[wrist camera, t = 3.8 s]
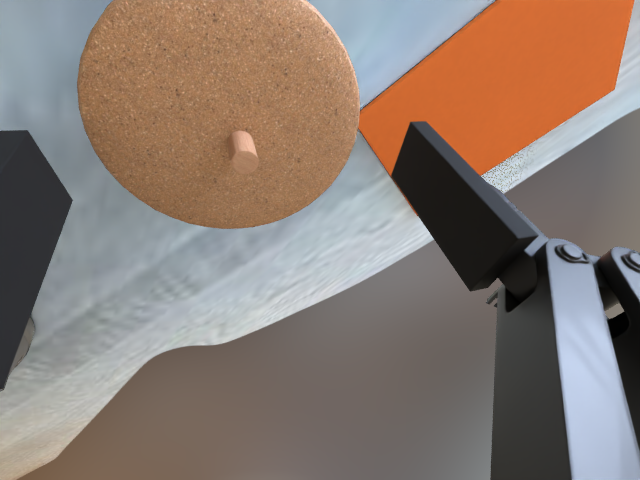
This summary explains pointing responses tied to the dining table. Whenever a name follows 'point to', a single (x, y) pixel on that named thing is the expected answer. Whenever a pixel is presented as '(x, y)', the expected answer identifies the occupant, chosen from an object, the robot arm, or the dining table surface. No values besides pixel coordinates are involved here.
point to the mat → (504, 79)
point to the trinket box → (219, 106)
